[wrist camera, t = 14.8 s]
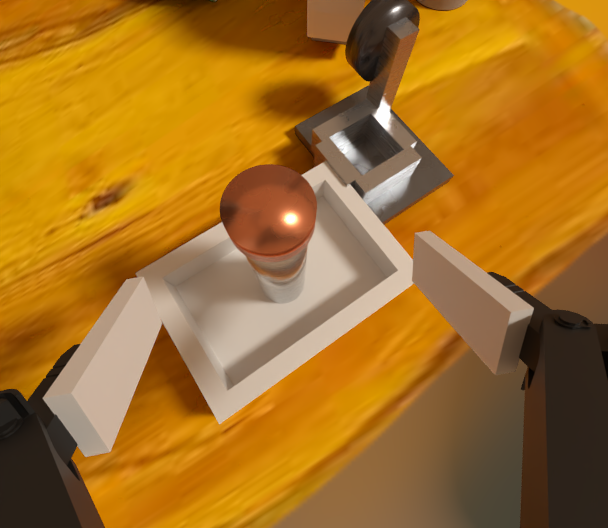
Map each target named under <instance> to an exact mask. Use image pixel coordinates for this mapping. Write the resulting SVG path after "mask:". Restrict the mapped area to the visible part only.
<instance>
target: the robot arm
mask: <svg viewBox="0 0 608 528" xmlns="http://www.w3.org/2000/svg"><path fill="white" fill-rule="evenodd" d="M412 281H413V282H414V283H415V285H416V286H417V287H418V288H419V289H420V290H421V291H422V293H423V294H424V295H425V296H426V297H427V298H428V299H429V301H430V302H431V303H432V304H433V305H434V306H435V307H436V308H437V310H438V311H439V312H440V313H441V314H442V315H443V316H444V318H445V319H446V320H447V321H448V322H449V323H450V324H451V326H452V327H453V328H454V329H455V330H456V331H457V332H458V334H459V335H460V336H461V337H462V338H463V339H464V340H465V341H466V343H467V344H468V345H469V346H470V347H471V348H472V349H473V351H474V352H475V353H476V354H477V355H478V356H479V357H480V359H481V360H482V361H483V362H484V363H485V364H486V365H487V366H488V367H489V368H490V370H491V371H492V372H493V373H494V374H495V375H499V374H504V373H510V372H515V371H516V368H517V365H518V361H519V358H520V359H521V360H522V361H523V362H524V363H525V364H526V365H527V366H528V368H527V371H526V374H525V377H524V381H523V384H522V387H521V389H522V390H525V403H524V433H523V458H522V459H523V460H522V486H521V487H522V488H521V514H520V528H608V324H593V323H592V322H591V321H590V320H588V319H587V318H586V317H584V316H581V315H579V314H577V313H574V312H570V311H566V310H551V309H550V308H548V307H547V306H546V305H544V304H543V303H541V302H540V301H539V300H537V299H536V298H534V297H533V296H531V295H530V294H529V293H527V292H526V291H523V289H521V288H520V287H519V286H516V285H515V284H514V283H513V282H512V281H510V280H509V279H507V278H506V277H504V276H501V275H499V274H496V273H494V272H489V273H486V272H485V271H483V270H482V269H481V268H479V267H478V266H477V265H475V264H474V263H473V262H471V261H470V260H469V259H467V258H466V257H465V256H463V255H462V254H460V253H459V252H458V251H456V250H455V249H454V248H452V247H451V246H450V245H448V244H447V243H446V242H444V241H443V240H442V239H440V238H439V237H438V236H436V235H435V234H433V233H432V232H431V231H425V232H419V233H415V240H414V256H413V272H412ZM161 325H162V321H161V319H160V316H159V314H158V311H157V309H156V306H155V304H154V301H153V299H152V296H151V294H150V292H149V289H148V287H147V284H146V282H145V279H144V277H137V278H131V279H126V281H125V282H124V283H123V285H122V286H121V288H120V289H119V291H118V292H117V293H116V295H115V296H114V298H113V299H112V300H111V302H110V303H109V305H108V306H107V308H106V309H105V310H104V312H103V313H102V315H101V316H100V318H99V319H98V320H97V322H96V323H95V325H94V326H93V327H92V329H91V330H90V332H89V333H88V335H87V336H86V337H85V339H84V340H83V342H82V343H81V344H77V345H74V346H72V347H71V348H70V349H69V350H67V351H66V352H65V353H64V354H63V355H61V357H60V358H59V359H58V361H57V362H56V363H55V365H54V366H53V369H51V370H50V371H49V373H48V374H47V375H46V378H45V379H43V381H42V382H41V383H40V385H39V386H38V387H37V389H36V390H35V391H34V393H33V394H32V395H31V397H30V398H29V399H28V401H26V399H25V398H24V397H23V396H22V394H21V393H20V392H19V391H18V390H17V389H7V390H3V391H0V528H105V527H104V524H103V522H102V520H101V518H100V516H99V514H98V512H97V509H96V507H95V505H94V503H93V501H92V499H91V496H90V494H89V492H88V490H87V488H86V486H85V484H84V481H83V479H82V477H81V475H80V473H79V471H78V468H77V466H76V464H75V463H74V462H73V460H72V459H71V457H72V455H73V453H74V451H75V449H76V447H77V446H78V448H79V449H80V450H81V452H82V453H83V454H84V456H85V457H88V456H93V455H98V454H103V453H108V452H110V451H111V449H112V446H113V444H114V441H115V439H116V437H117V434H118V432H119V429H120V427H121V424H122V422H123V419H124V417H125V414H126V412H127V409H128V407H129V404H130V402H131V400H132V397H133V395H134V392H135V390H136V387H137V385H138V382H139V380H140V377H141V375H142V372H143V370H144V367H145V365H146V363H147V360H148V358H149V355H150V353H151V350H152V348H153V345H154V343H155V340H156V338H157V335H158V333H159V330H160V328H161Z"/></svg>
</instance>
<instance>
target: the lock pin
mask: <svg viewBox="0 0 608 528" xmlns="http://www.w3.org/2000/svg"><path fill="white" fill-rule="evenodd" d="M316 213H317V201H316V196H315V193H314V191H313V189H312V187H311V185H310V184H309V183H308V181H307V180H306V179H305V178H304V177H303V176H302V175H300V174H299V173H297V172H296V171H294V170H292V169H290V168H287V167H284V166H280V165H259V166H255V167H252V168H249V169H247V170H245V171H243V172H241V173H240V174H238V175H237V176H236V177H235V178H234V179H233V180H232V181H231V182H230V183H229V184H228V186H227V187H226V189H225V191H224V193H223V195H222V198H221V202H220V216H221V220H222V223H223V225H224V227H225V229H226V231H227V233H228V235H229V237H230V239H231V240H232V242H233V244H234V245H235V246H236V248H237V249H238V250H239V251H240V252H241V253H243V254H244V255H245V256H246V258H247V260H248V262H249V264H250V266H251V268H252V270H253V272H254V275H255V277H256V279H257V281H258V283H259V285H260V287H261V289H262V291H263V293H264V294H265V296H266V297H267V298H268V299H270V300H271V301H273V302H275V303H281V304H284V303H289V302H292V301H294V300H295V299H297V298H298V297H299V296H300V294H301V293H302V291H303V289H304V283H305V271H306V259H307V247H308V243H309V241H310V240H311V238H312V235H313V233H314V229H315V222H316Z"/></svg>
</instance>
